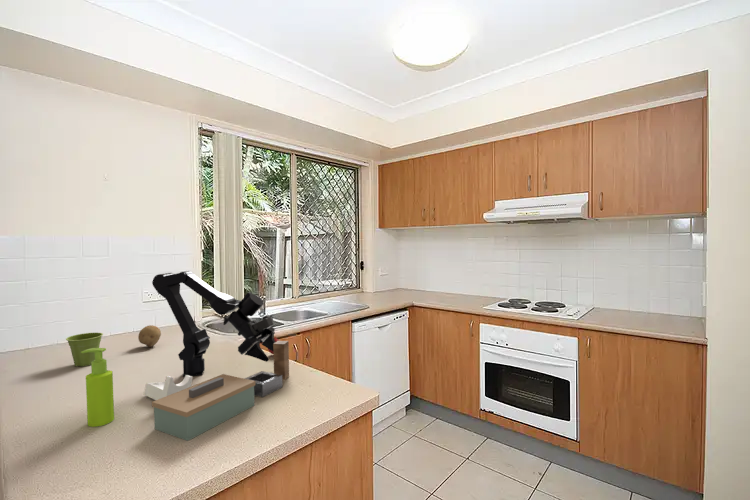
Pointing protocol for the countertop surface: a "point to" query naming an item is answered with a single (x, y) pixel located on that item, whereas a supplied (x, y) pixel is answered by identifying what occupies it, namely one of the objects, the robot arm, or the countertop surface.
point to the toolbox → (203, 406)
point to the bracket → (166, 387)
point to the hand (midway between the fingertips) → (273, 356)
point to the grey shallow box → (266, 383)
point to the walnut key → (281, 358)
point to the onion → (275, 341)
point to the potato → (149, 335)
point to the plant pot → (84, 347)
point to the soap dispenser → (99, 391)
